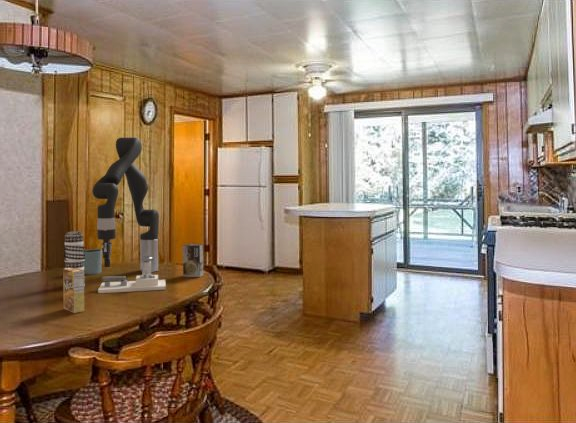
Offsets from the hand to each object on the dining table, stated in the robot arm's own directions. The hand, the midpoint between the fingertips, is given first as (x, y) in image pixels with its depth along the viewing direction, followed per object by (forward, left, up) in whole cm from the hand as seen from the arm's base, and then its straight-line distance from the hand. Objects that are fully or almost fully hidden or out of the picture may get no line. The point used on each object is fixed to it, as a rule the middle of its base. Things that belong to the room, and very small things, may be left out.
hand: (107, 266), depth 204 cm
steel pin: (0, +17, -8) cm, 19 cm away
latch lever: (0, +3, -6) cm, 7 cm away
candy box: (+34, -8, -10) cm, 36 cm away
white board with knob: (0, +11, -10) cm, 15 cm away
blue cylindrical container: (-42, -12, -10) cm, 45 cm away
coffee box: (-21, +39, -10) cm, 45 cm away
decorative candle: (-10, -15, -10) cm, 21 cm away
